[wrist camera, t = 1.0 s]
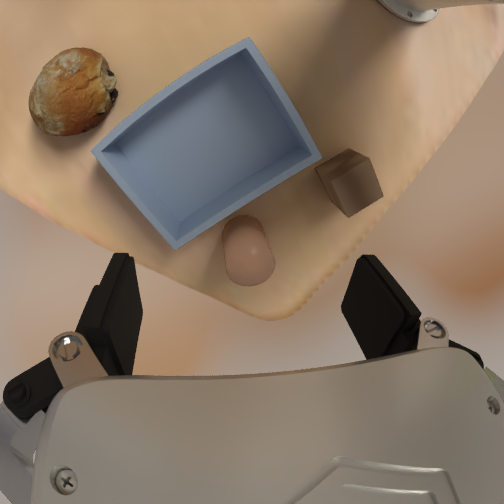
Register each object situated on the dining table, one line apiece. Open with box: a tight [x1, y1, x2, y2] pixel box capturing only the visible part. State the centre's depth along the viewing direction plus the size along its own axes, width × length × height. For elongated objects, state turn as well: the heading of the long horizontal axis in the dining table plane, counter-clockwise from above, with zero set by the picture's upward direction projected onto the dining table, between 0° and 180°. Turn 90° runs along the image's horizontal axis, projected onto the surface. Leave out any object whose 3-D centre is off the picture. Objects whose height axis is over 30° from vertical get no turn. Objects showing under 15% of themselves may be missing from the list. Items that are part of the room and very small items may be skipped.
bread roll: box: [29, 48, 118, 136], centre depth 21 cm, size 10×10×8 cm
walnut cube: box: [315, 149, 383, 218], centre depth 30 cm, size 5×5×5 cm
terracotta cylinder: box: [223, 216, 275, 286], centre depth 32 cm, size 5×5×7 cm
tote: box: [91, 37, 322, 250], centre depth 26 cm, size 18×14×5 cm
